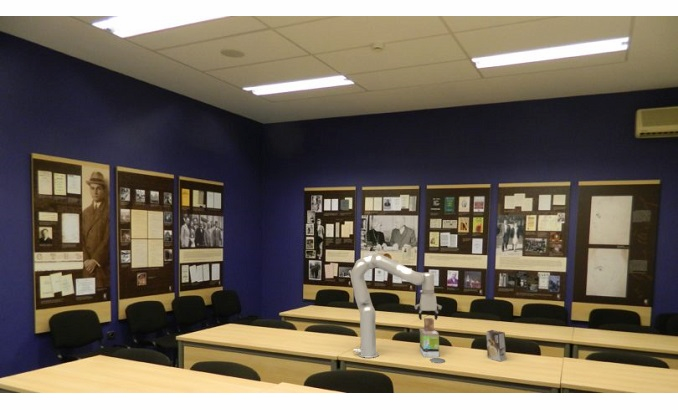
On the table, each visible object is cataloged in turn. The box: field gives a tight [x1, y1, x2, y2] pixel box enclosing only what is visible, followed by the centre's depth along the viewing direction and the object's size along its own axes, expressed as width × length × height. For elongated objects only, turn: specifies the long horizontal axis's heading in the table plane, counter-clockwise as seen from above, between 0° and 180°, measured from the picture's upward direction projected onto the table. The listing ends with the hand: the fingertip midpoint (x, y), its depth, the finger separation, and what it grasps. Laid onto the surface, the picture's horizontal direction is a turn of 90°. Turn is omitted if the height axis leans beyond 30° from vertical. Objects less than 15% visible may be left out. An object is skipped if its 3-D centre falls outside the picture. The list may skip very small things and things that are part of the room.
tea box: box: [419, 327, 440, 358], centre depth 276 cm, size 15×10×15 cm
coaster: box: [429, 357, 446, 364], centre depth 261 cm, size 9×9×1 cm
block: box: [423, 317, 435, 331], centre depth 277 cm, size 5×5×7 cm
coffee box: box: [486, 329, 507, 362], centre depth 263 cm, size 9×6×16 cm
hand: (428, 319), depth 277 cm, fingers open, 9 cm apart
